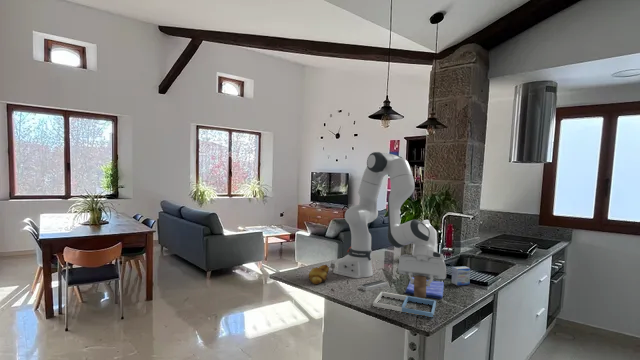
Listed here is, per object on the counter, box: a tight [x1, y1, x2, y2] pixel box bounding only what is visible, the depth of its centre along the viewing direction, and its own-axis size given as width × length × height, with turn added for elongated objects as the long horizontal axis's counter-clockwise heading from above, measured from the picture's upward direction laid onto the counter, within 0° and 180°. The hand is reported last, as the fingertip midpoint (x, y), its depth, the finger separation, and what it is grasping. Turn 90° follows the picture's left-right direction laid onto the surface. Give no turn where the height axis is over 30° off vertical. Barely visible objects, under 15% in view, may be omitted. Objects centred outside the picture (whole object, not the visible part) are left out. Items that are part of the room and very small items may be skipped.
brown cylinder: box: [413, 275, 427, 299], centre depth 143 cm, size 5×5×8 cm
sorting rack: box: [372, 291, 437, 318], centre depth 146 cm, size 24×15×2 cm, turn 66°
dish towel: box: [404, 276, 445, 300], centre depth 169 cm, size 17×24×3 cm
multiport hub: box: [360, 279, 388, 292], centre depth 169 cm, size 4×14×2 cm, turn 125°
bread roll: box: [308, 264, 330, 285], centre depth 176 cm, size 13×10×8 cm
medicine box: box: [451, 265, 471, 286], centre depth 177 cm, size 8×4×9 cm, turn 105°
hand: (420, 284), depth 143 cm, fingers closed on brown cylinder, 5 cm apart
